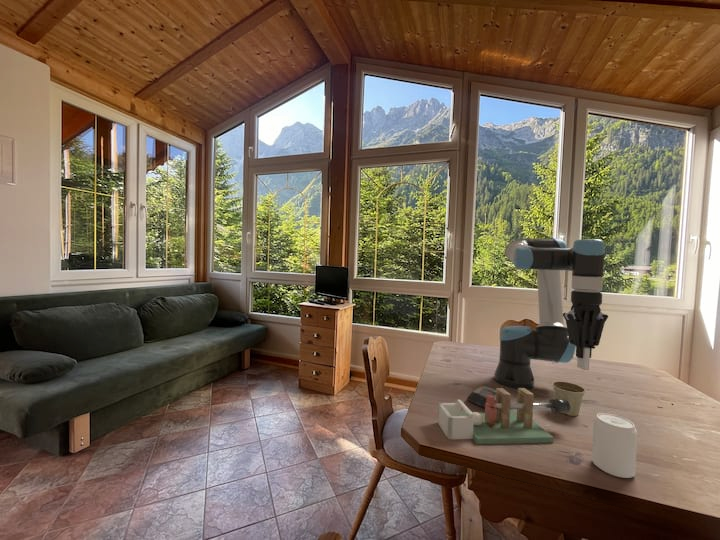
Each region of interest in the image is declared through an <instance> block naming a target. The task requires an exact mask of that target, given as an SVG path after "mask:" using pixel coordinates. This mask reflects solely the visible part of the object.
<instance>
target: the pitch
mask: <svg viewBox="0 0 720 540" xmlns="http://www.w3.org/2000/svg"><path fill="white" fill-rule="evenodd" d="M478 413H479V414H480V415H481V416H482V418H483V422H482V424H481V425H479V426H476V425H473V439H472V440H473V441H474V442H475V444H476V445H496V444H497V445H499V444H501V445H503V444H506V445H507V444H511V445H512V444H542V443H543V444H546V443H548V444H550V443H554V436H552V434H551V433H549V432H548V431H547V430H545V429H544V428H543V427H541V426H540V425H539V424H538V423H537V422H535V421H534V420H533V419H532V428H525V427H524V422H518V421H517V411H516V412H510V423H509V428H505V429H503V428H502V427H501V422H496V421H495V426H490V425H489V424H488V423H487V422H486V421H485V412H478ZM461 416H469V415H468V414H467V413H466V412H461Z"/></svg>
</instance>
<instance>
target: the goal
mask: <svg viewBox="0 0 720 540" xmlns="http://www.w3.org/2000/svg"><path fill="white" fill-rule="evenodd" d="M437 406H438V407H437V424H438V425H439V427H440V429H441V430H442V432H443V433H444V435H445V436H446V438H447V439H448V440H473V422H474V418H473V417H474V414H473V412H472V410H471V409H470V408H469V407H468V406H467V405H466V404H465V403H464V401H462V400H461V399H457V401H456V402H438V403H437ZM462 409H463V410H464V413H467V414H468V415H469V416H461V413H462Z"/></svg>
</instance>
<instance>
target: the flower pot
mask: <svg viewBox="0 0 720 540" xmlns="http://www.w3.org/2000/svg"><path fill="white" fill-rule="evenodd" d="M551 386H552V387H553V390H554V396H555V398H554V399H566V400H567V401H568V402H569V404H570V411H569V412H560V413H561V414H562V415H563V414H565V415H567V416H569V417H577V416H579V414H580V409H581V405H582V400H583V397H584V395H585V393H586V392H587V390H586V388H585V387H583V386H581V385H578V384H577V383H573V382H568V381H563V380H561V381H560V380H555V381H553V382H552V383H551Z"/></svg>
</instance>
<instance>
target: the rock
mask: <svg viewBox="0 0 720 540" xmlns="http://www.w3.org/2000/svg"><path fill="white" fill-rule="evenodd" d="M487 395H492V396H494V397H495V401H496V389H493V388H490V387H488V386H484V385H479V386H478V387H477V388H476V389H474V390H473V391H471V393H470V394H469V395H468V396H467V398H466V399H467V400H468V401H470V402H471V403H473V404H475V405H478V406H480V407H481V408H484V409H485V403H487V402H486V401H487ZM511 410H512V409H510V411H511Z"/></svg>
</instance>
